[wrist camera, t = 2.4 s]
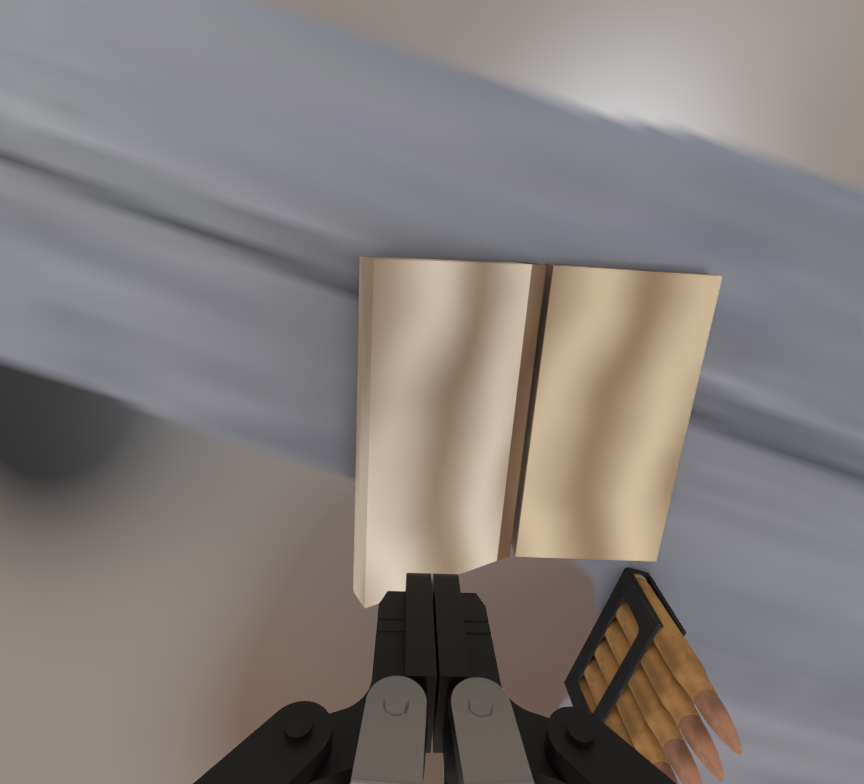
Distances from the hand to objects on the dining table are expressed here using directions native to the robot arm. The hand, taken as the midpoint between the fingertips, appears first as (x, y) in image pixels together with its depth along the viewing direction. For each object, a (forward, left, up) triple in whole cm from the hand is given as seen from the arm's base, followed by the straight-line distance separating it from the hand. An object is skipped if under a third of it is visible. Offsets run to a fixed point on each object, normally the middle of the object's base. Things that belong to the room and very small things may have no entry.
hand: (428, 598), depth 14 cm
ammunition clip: (-14, +16, -17) cm, 27 cm away
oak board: (-11, 0, -16) cm, 20 cm away
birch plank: (-1, 0, -14) cm, 14 cm away
